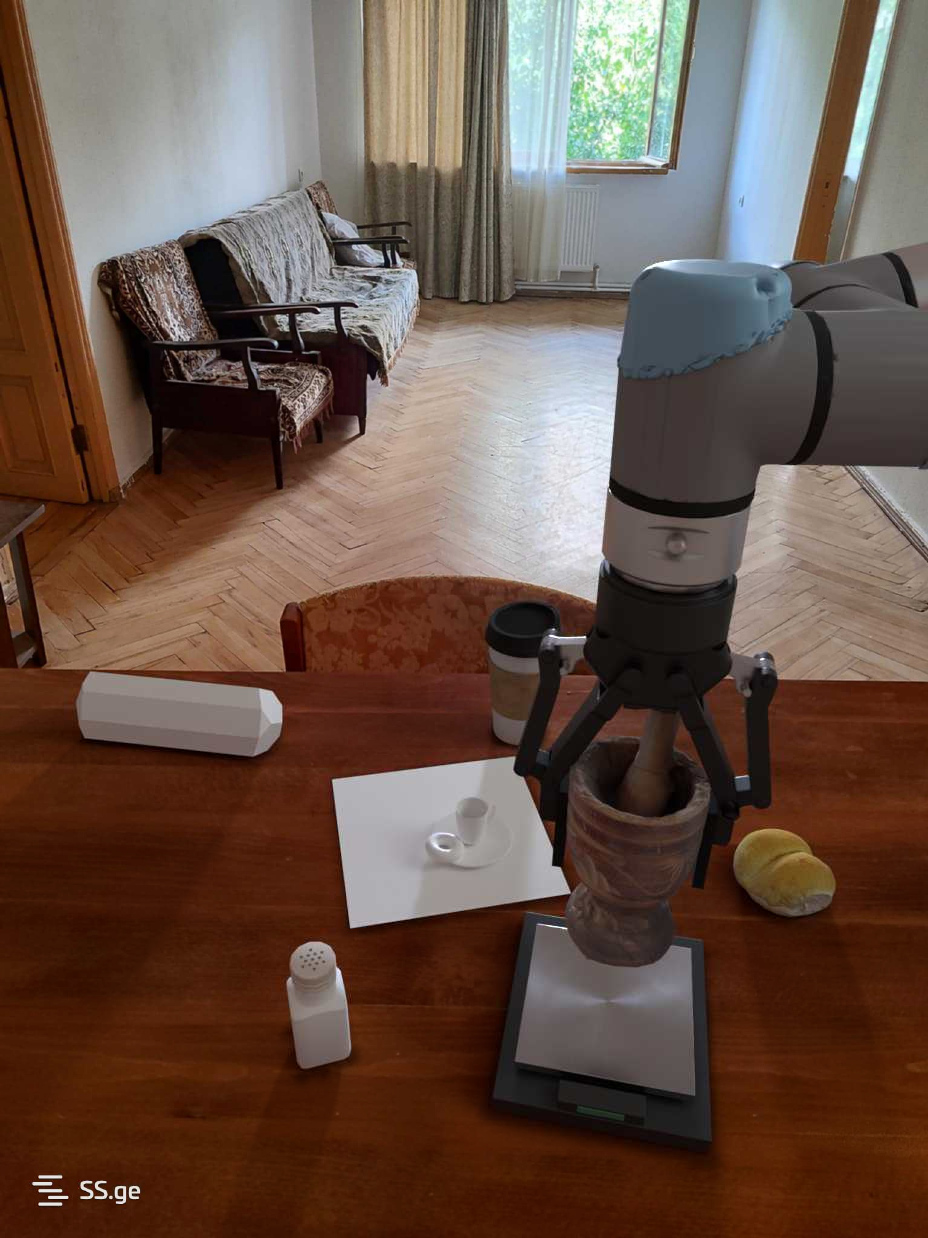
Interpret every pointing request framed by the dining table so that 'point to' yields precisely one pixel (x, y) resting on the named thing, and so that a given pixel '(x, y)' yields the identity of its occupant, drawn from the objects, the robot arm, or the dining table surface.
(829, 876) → the bread roll
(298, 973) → the salt shaker
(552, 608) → the coffee cup
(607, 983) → the scale pan
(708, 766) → the robot arm
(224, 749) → the crystal
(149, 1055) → the dining table surface
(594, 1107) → the scale
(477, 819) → the teacup and saucer
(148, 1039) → the dining table surface
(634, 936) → the mortar and pestle
